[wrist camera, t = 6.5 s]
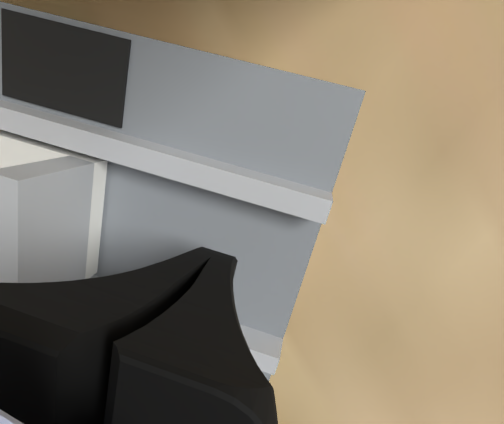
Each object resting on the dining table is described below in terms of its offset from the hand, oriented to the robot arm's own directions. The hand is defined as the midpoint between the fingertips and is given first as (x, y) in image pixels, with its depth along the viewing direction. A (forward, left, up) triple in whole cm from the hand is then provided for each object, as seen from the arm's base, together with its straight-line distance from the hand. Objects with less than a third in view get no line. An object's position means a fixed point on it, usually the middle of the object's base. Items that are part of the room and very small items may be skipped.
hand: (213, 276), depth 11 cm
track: (0, +10, -3) cm, 11 cm away
